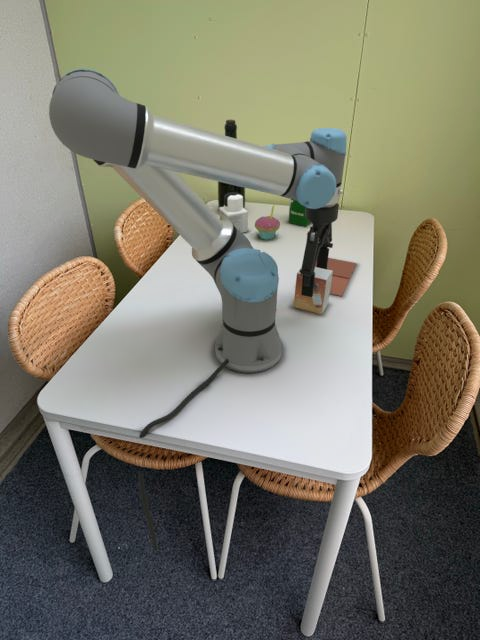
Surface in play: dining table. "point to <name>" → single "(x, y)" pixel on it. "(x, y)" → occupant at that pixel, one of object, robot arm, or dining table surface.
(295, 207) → the milk carton
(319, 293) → the small box
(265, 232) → the cupcake
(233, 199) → the container
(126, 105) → the robot arm
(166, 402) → the dining table surface
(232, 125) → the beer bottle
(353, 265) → the napkin
